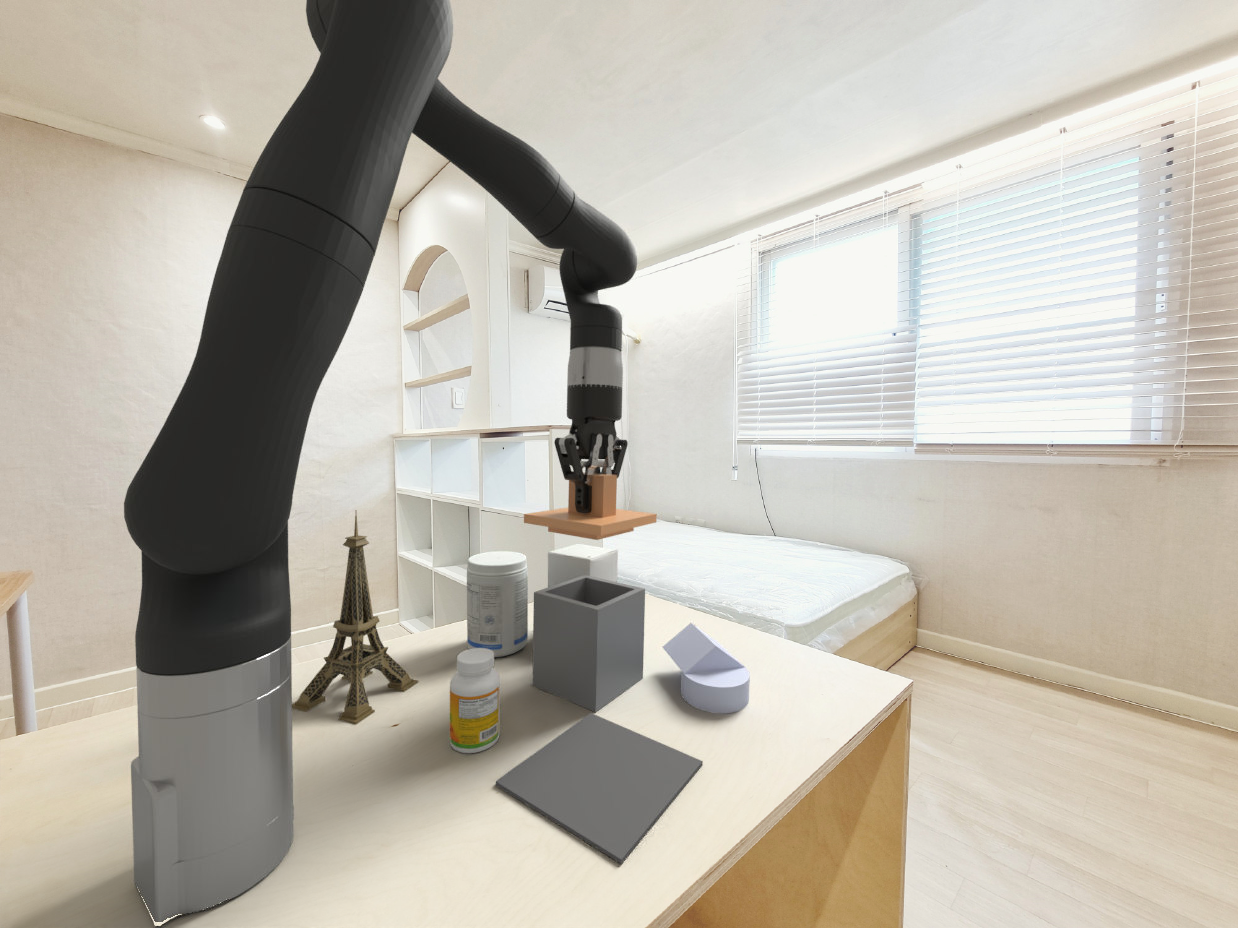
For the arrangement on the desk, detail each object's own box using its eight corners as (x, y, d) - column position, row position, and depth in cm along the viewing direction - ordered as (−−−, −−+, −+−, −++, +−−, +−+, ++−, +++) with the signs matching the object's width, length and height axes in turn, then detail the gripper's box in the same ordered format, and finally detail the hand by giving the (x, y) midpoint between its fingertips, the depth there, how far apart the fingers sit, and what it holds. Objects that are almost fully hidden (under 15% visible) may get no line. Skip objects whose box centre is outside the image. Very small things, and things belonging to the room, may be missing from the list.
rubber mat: (621, 864, 39) (621, 859, 39) (495, 784, 48) (495, 780, 48) (702, 764, 51) (702, 760, 51) (590, 715, 60) (590, 712, 60)
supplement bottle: (456, 725, 57) (457, 644, 57) (503, 724, 58) (504, 644, 57) (443, 755, 52) (443, 666, 52) (494, 754, 52) (495, 665, 52)
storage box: (595, 712, 61) (597, 609, 60) (532, 685, 67) (533, 592, 67) (642, 678, 70) (645, 588, 69) (583, 657, 76) (584, 574, 76)
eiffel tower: (288, 708, 60) (286, 507, 59) (357, 670, 71) (356, 498, 69) (356, 724, 57) (355, 513, 56) (418, 682, 67) (418, 502, 66)
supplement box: (618, 633, 86) (620, 548, 85) (588, 651, 78) (590, 559, 78) (577, 621, 91) (578, 542, 90) (545, 637, 83) (546, 551, 82)
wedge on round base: (661, 668, 73) (696, 717, 60) (662, 624, 73) (698, 664, 60) (716, 663, 75) (761, 708, 63) (718, 620, 75) (763, 657, 62)
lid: (600, 545, 58) (602, 479, 58) (523, 531, 66) (524, 473, 65) (656, 530, 69) (657, 475, 69) (584, 520, 76) (585, 469, 76)
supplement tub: (511, 630, 86) (512, 547, 85) (538, 648, 79) (539, 559, 78) (457, 644, 80) (457, 555, 79) (481, 665, 73) (482, 568, 72)
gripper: (583, 377, 59) (580, 520, 59) (645, 389, 70) (642, 508, 71) (538, 380, 63) (536, 513, 64) (603, 391, 74) (601, 504, 75)
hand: (592, 510), depth 67 cm, fingers closed on lid, 3 cm apart
